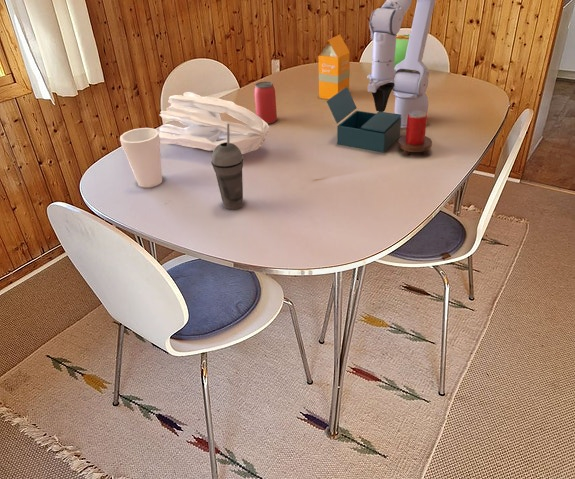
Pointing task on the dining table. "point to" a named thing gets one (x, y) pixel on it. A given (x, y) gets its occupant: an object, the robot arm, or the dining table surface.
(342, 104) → the cool box flap
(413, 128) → the can
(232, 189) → the beverage cup
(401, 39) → the green round bowl
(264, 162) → the dining table surface
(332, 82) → the orange juice
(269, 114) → the beer can
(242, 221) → the dining table surface
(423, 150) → the coaster
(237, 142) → the white plastic bag
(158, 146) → the foam cup
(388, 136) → the teal box
